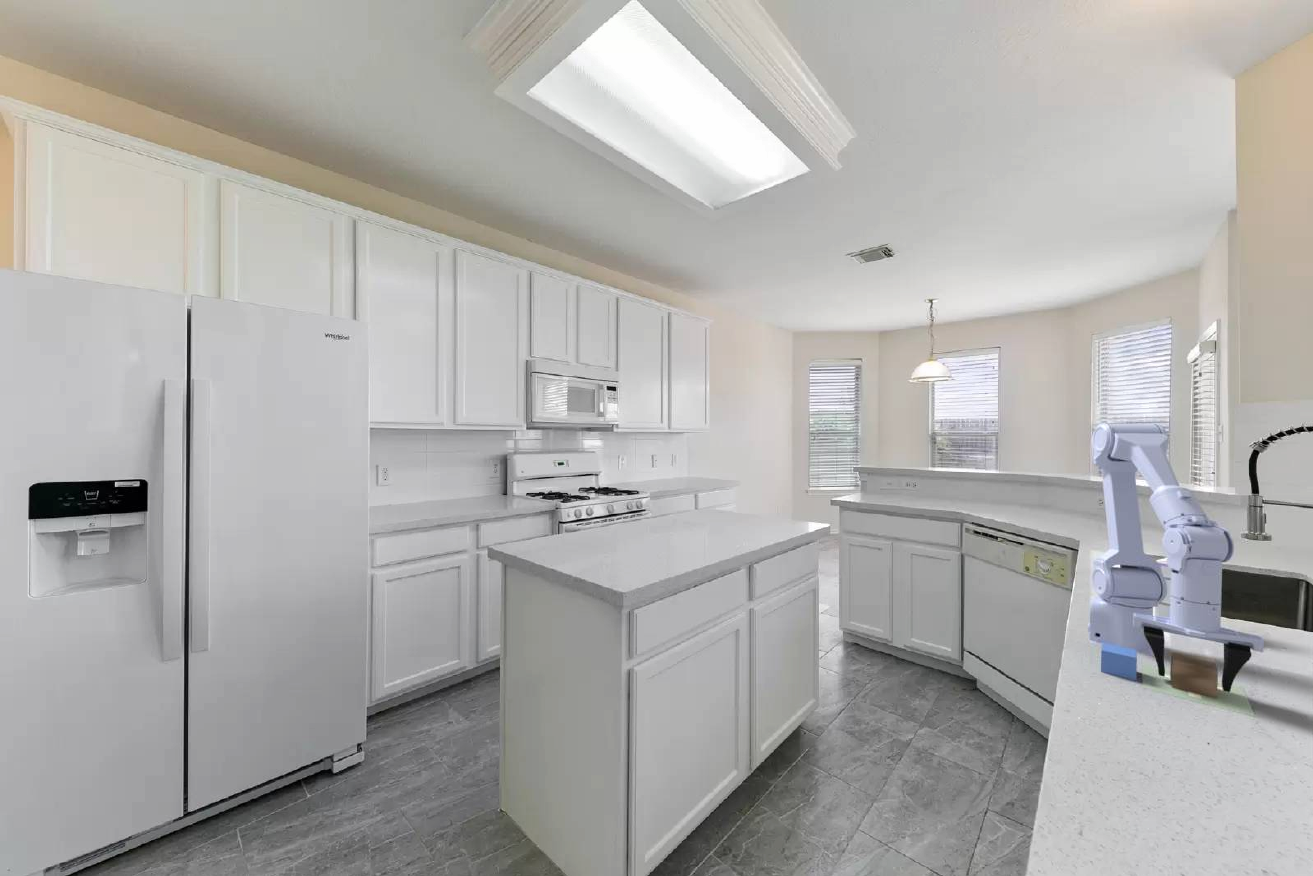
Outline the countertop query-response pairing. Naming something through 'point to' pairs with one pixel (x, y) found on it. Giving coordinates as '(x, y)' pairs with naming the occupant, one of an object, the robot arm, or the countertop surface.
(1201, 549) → the robot arm
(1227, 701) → the board
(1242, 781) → the countertop surface
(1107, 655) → the blue cube
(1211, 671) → the walnut block
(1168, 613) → the syrup box
